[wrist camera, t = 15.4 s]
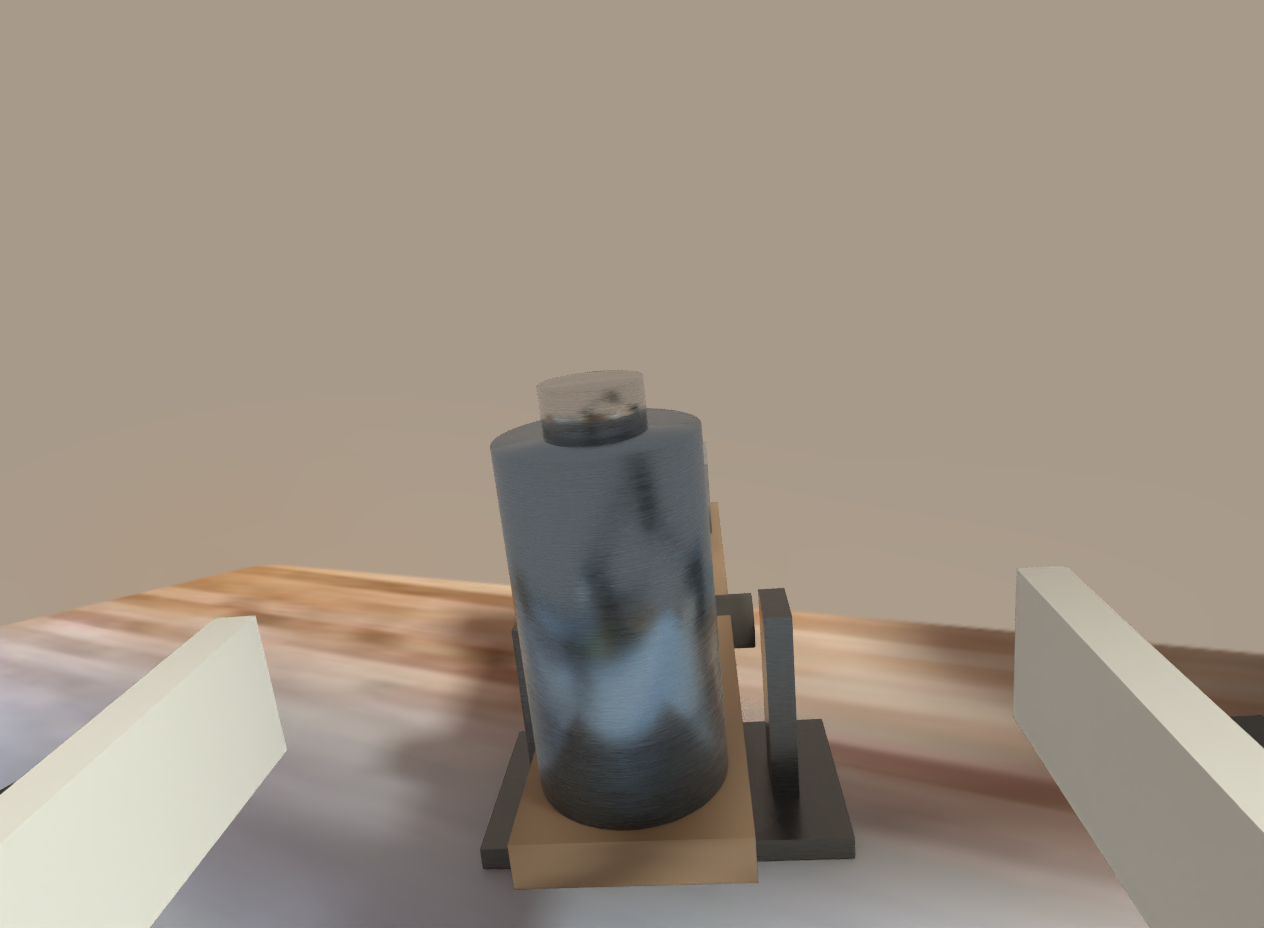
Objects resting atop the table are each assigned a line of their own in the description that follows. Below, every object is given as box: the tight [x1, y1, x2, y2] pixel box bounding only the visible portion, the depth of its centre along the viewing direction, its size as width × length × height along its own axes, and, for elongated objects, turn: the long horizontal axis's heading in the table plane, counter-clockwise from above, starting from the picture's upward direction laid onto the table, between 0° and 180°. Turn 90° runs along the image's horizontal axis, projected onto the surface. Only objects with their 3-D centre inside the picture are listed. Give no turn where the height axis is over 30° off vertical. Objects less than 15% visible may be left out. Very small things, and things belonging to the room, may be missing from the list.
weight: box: [490, 370, 728, 830], centre depth 25 cm, size 6×6×12 cm
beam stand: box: [480, 588, 855, 869], centre depth 39 cm, size 16×9×10 cm, turn 87°
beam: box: [507, 442, 758, 889], centre depth 38 cm, size 9×30×6 cm, turn 176°
